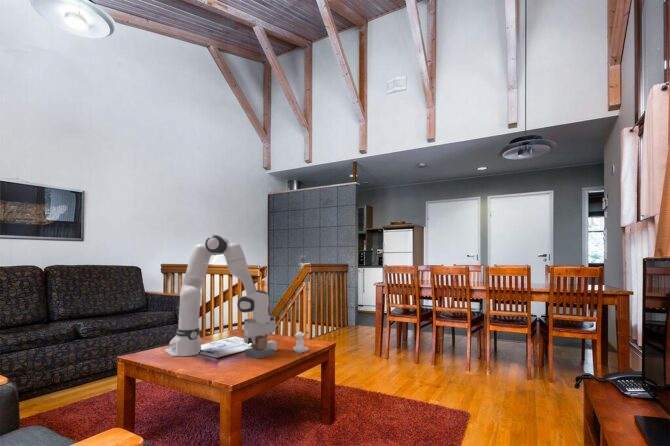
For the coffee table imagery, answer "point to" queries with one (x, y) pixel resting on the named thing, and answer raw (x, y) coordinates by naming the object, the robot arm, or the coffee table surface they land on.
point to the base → (259, 352)
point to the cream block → (272, 344)
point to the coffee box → (246, 340)
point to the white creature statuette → (300, 343)
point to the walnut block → (260, 342)
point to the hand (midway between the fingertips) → (259, 343)
